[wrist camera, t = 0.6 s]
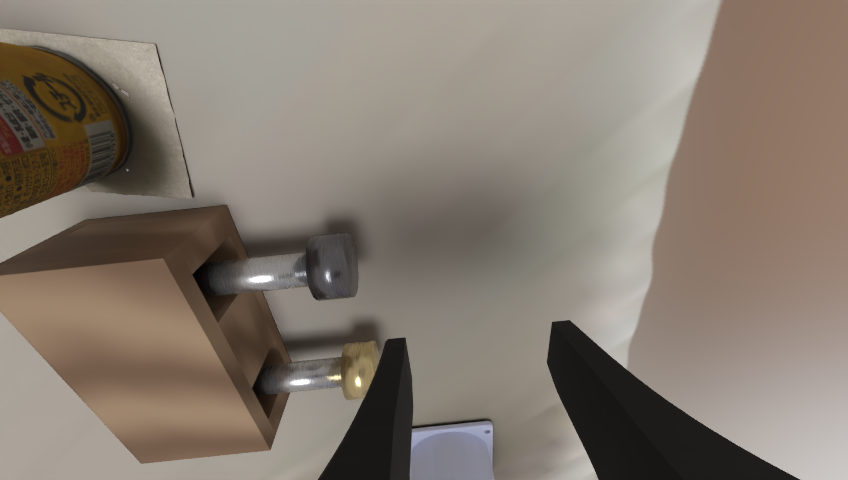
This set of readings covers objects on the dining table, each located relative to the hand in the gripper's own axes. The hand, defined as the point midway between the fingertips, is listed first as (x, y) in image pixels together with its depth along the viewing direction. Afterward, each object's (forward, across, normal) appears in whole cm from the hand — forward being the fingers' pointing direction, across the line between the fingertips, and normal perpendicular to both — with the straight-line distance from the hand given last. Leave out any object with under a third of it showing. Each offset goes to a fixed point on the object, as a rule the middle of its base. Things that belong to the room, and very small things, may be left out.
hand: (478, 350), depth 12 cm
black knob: (+8, +10, 0) cm, 13 cm away
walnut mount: (+9, +16, +4) cm, 19 cm away
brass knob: (+8, +10, +8) cm, 15 cm away
